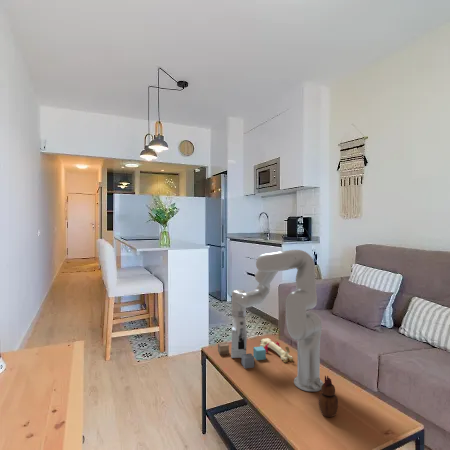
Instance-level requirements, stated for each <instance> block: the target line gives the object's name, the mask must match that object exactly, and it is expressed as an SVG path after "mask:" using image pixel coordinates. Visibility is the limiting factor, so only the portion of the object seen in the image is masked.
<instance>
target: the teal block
mask: <svg viewBox="0 0 450 450" xmlns="http://www.w3.org/2000/svg"><path fill="white" fill-rule="evenodd" d="M252 349H253V354H252V355H253V357H254V360H256V361H262V360H264V361H265V360H267V359H266V358H267V357H266V356H267V355H266V354H267V352H266V350H265V349H264V348H263V347H262V346H260V345H259V346H254V347H253V348H252Z"/></svg>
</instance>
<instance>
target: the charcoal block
mask: <svg viewBox="0 0 450 450" xmlns="http://www.w3.org/2000/svg"><path fill="white" fill-rule="evenodd" d="M241 365H242V367H243V368H244V369H253V368H255V358H254V356H253V354H252V353H246V354H242V358H241Z"/></svg>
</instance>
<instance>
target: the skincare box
mask: <svg viewBox="0 0 450 450" xmlns="http://www.w3.org/2000/svg"><path fill="white" fill-rule="evenodd" d="M240 335H241V334H240ZM240 335H239V336H240ZM244 336H245V335H244ZM247 336H248V329H247V327H246V336H245V338H244V349H238V342H239V339H238V336H237V334H236V330H235V329H234V327H233V326H231V349H230V351H231V352H230V356H231V359H242V354H247V345H248V344H247V342H248V340H247V339H248V337H247ZM240 338H241V337H240Z"/></svg>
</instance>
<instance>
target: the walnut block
mask: <svg viewBox="0 0 450 450" xmlns="http://www.w3.org/2000/svg"><path fill="white" fill-rule="evenodd" d="M218 352H219V353H218ZM217 353H218V354H219V355H220V356H226V355H225V354H227V355H229V354H230V345H229V343H228V342H227V341H222V342H217Z"/></svg>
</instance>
